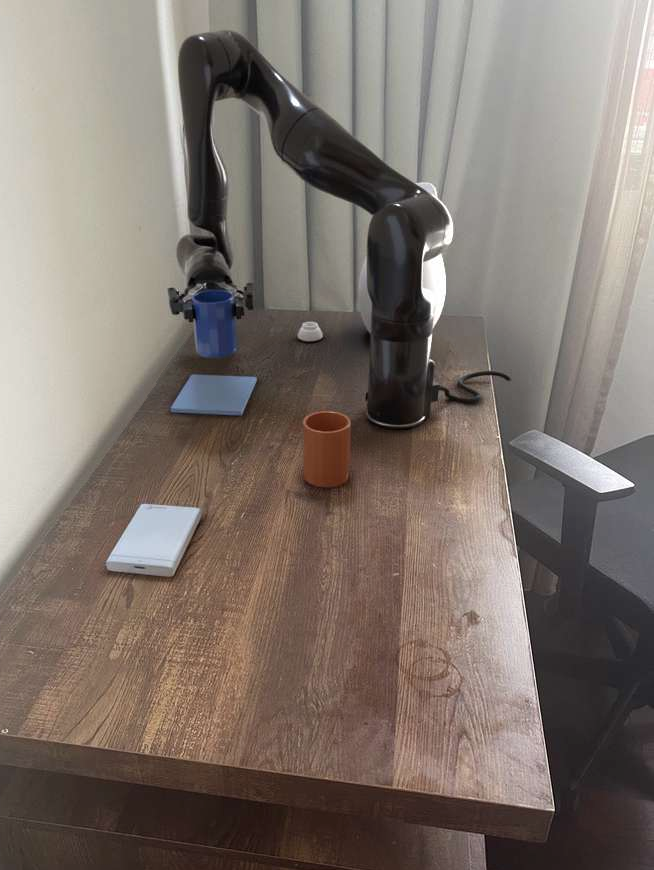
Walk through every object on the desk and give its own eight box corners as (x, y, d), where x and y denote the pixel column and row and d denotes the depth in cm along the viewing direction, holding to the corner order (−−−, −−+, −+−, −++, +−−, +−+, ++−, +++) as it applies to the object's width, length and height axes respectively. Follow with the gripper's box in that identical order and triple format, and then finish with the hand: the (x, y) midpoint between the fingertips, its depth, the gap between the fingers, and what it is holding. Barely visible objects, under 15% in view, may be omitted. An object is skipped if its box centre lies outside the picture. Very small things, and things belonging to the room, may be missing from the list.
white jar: (293, 341, 148) (316, 344, 147) (293, 326, 147) (316, 330, 145) (303, 332, 152) (326, 335, 150) (303, 318, 151) (326, 321, 149)
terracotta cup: (336, 460, 108) (337, 407, 103) (356, 481, 103) (358, 427, 98) (296, 469, 106) (295, 416, 101) (314, 491, 101) (314, 436, 96)
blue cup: (229, 340, 118) (226, 287, 114) (243, 353, 113) (240, 299, 109) (191, 346, 116) (186, 293, 112) (203, 361, 111) (198, 305, 107)
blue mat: (191, 378, 134) (191, 374, 134) (256, 380, 132) (256, 376, 132) (170, 412, 123) (170, 408, 122) (241, 415, 121) (241, 411, 120)
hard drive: (140, 502, 97) (105, 559, 86) (201, 507, 95) (172, 566, 85) (142, 513, 97) (107, 571, 87) (202, 518, 96) (173, 577, 86)
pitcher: (358, 320, 158) (363, 180, 142) (439, 322, 155) (453, 180, 140) (352, 363, 138) (357, 206, 123) (444, 366, 136) (461, 207, 120)
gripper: (163, 260, 120) (163, 292, 106) (251, 255, 122) (262, 286, 108) (168, 305, 124) (168, 342, 111) (253, 300, 126) (264, 335, 112)
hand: (214, 314), depth 109 cm, fingers closed on blue cup, 6 cm apart
